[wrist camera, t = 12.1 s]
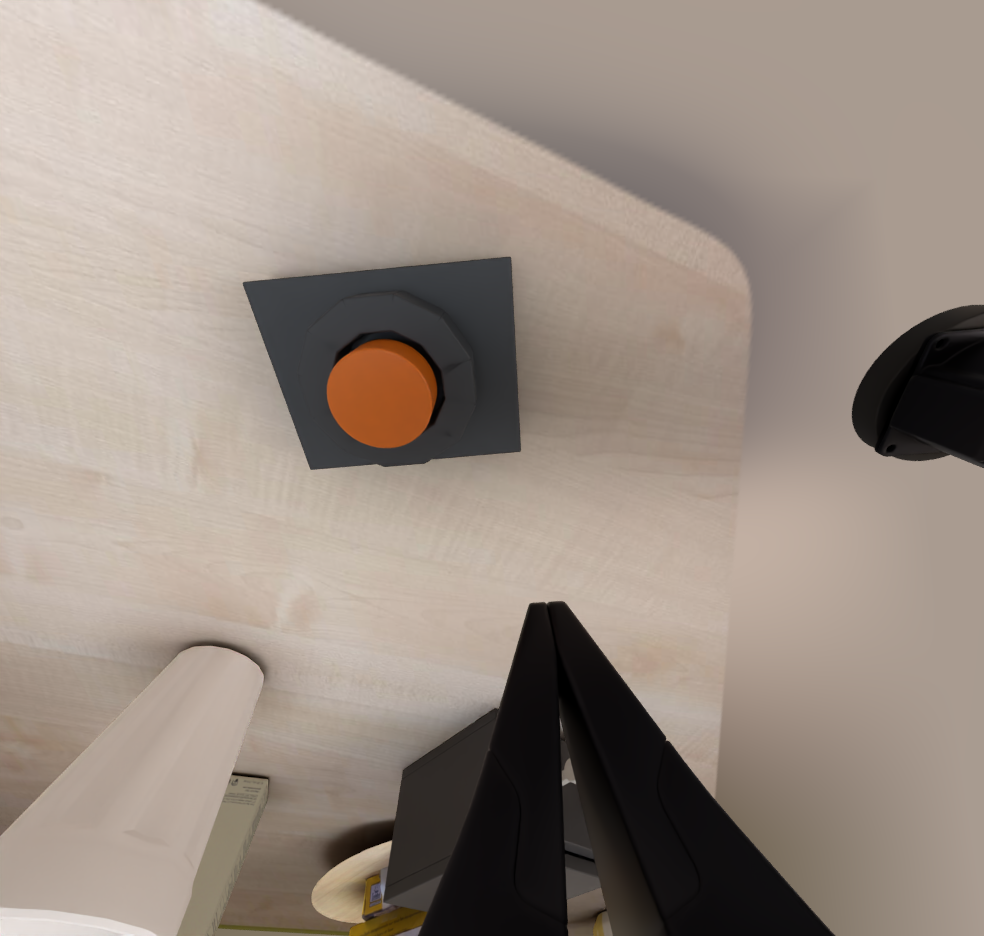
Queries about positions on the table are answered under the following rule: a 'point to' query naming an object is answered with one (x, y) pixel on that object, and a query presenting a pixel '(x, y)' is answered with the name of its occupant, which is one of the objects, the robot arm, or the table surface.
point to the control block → (411, 320)
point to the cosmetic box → (224, 854)
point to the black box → (447, 820)
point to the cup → (132, 808)
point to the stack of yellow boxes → (365, 896)
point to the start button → (382, 393)
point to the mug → (602, 925)
